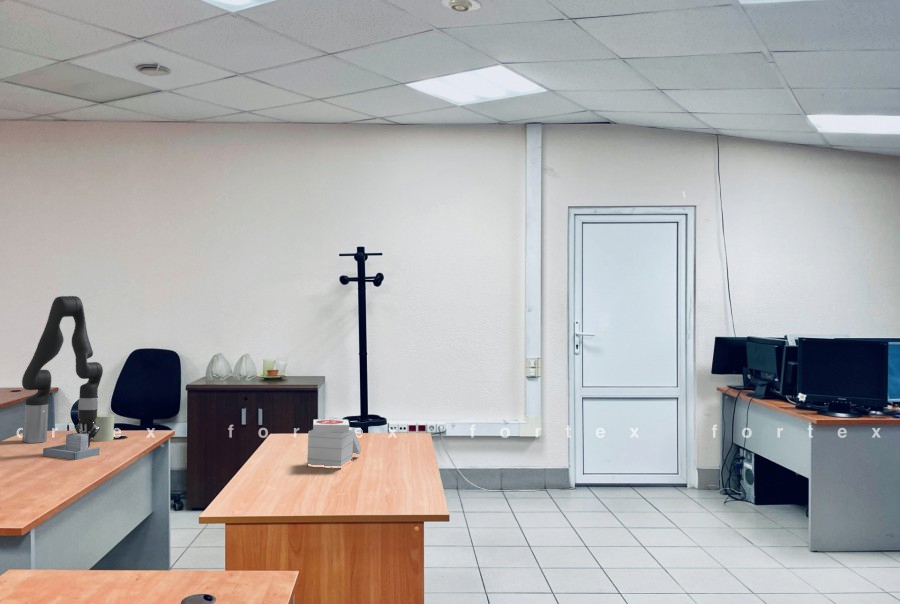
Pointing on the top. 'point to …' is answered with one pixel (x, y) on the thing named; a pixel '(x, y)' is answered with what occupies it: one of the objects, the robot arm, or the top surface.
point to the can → (104, 427)
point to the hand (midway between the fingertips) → (86, 447)
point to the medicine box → (76, 442)
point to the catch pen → (69, 452)
